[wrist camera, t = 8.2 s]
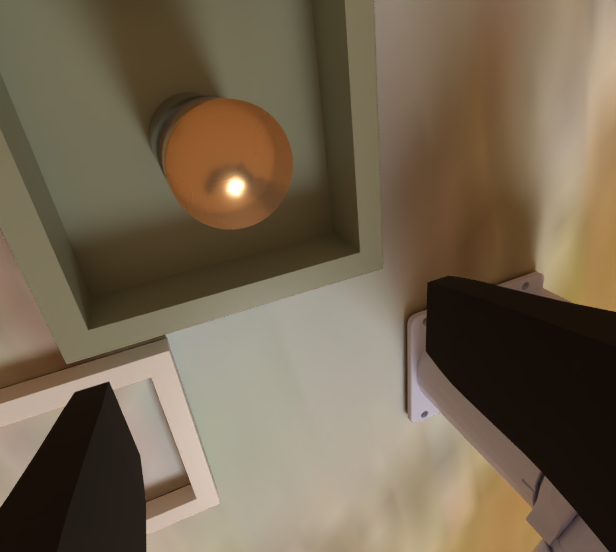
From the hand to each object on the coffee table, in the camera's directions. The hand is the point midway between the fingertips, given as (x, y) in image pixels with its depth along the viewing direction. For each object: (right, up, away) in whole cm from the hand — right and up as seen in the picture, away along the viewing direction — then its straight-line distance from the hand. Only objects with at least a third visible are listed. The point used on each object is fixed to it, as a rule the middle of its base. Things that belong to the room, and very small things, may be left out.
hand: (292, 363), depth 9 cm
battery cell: (-4, +7, +6) cm, 10 cm away
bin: (-4, +7, +6) cm, 10 cm away
